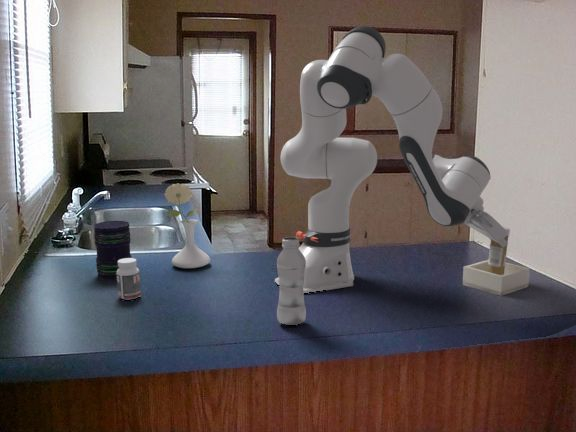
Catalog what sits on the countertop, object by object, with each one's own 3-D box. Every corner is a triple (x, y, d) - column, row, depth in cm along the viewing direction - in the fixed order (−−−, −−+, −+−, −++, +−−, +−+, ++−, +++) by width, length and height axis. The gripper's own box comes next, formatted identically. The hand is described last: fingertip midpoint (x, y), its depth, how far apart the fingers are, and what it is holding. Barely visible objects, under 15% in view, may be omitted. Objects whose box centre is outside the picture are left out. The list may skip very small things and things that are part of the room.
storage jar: (100, 282, 185) (96, 229, 182) (94, 273, 194) (90, 222, 191) (136, 277, 189) (132, 226, 186) (129, 268, 198) (126, 219, 195)
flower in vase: (215, 261, 205) (212, 180, 199) (204, 272, 194) (200, 186, 188) (174, 260, 207) (170, 179, 202) (161, 270, 196) (156, 186, 191)
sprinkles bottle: (507, 278, 176) (513, 228, 174) (496, 280, 174) (502, 229, 171) (493, 274, 180) (499, 224, 178) (482, 275, 177) (488, 225, 175)
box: (500, 296, 170) (501, 277, 169) (462, 284, 179) (463, 266, 178) (528, 286, 177) (529, 268, 176) (490, 276, 186) (491, 258, 185)
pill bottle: (145, 295, 174) (143, 258, 172) (133, 302, 169) (131, 264, 167) (126, 293, 176) (123, 256, 174) (113, 300, 171) (111, 262, 169)
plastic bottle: (275, 319, 156) (274, 235, 151) (304, 318, 156) (304, 234, 152) (277, 329, 149) (276, 242, 145) (308, 328, 150) (307, 241, 146)
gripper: (490, 205, 162) (526, 243, 165) (460, 191, 182) (493, 225, 185) (471, 223, 162) (508, 261, 165) (443, 208, 182) (477, 242, 185)
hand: (500, 242), depth 175 cm, fingers closed on sprinkles bottle, 4 cm apart
